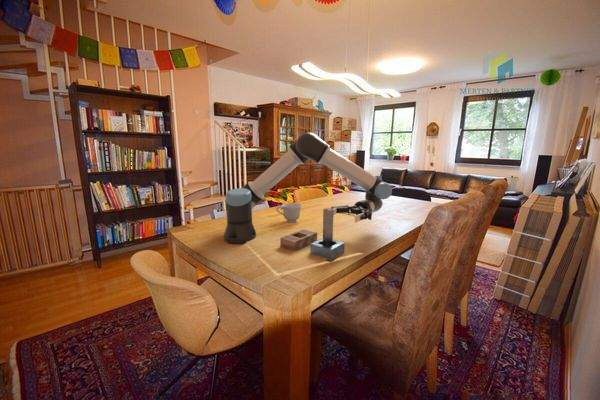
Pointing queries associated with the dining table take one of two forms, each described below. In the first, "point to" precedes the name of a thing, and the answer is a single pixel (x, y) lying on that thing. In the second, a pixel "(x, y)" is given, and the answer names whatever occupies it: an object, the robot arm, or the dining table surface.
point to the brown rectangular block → (298, 239)
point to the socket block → (327, 249)
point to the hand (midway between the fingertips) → (341, 216)
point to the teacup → (290, 211)
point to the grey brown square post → (328, 227)
